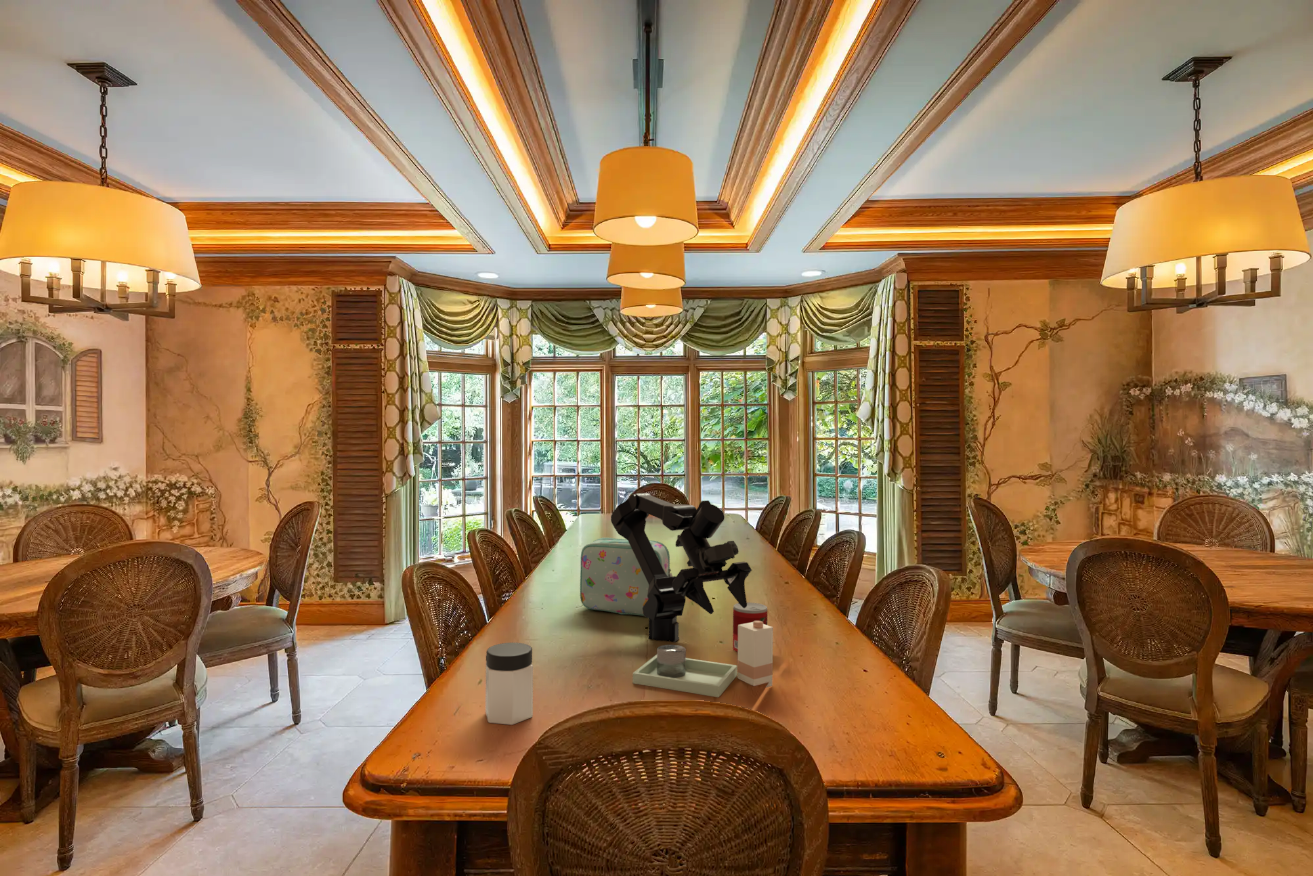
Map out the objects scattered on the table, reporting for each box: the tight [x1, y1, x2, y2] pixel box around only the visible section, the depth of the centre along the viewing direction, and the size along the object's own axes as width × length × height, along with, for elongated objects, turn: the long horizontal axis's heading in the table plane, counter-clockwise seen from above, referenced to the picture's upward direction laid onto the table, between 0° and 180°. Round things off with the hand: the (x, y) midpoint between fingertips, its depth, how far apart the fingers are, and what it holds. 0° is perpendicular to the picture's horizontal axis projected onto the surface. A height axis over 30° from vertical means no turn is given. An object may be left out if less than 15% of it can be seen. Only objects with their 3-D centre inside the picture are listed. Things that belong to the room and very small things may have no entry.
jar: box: [485, 642, 534, 726], centre depth 123 cm, size 9×8×12 cm
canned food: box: [732, 601, 768, 653], centre depth 159 cm, size 8×8×11 cm
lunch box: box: [579, 537, 673, 617], centre depth 196 cm, size 27×10×21 cm, turn 71°
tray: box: [632, 654, 738, 698], centre depth 139 cm, size 18×13×3 cm
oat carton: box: [736, 621, 774, 688], centre depth 139 cm, size 5×5×13 cm
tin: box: [656, 644, 687, 678], centre depth 143 cm, size 6×6×5 cm
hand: (729, 610), depth 146 cm, fingers open, 9 cm apart
